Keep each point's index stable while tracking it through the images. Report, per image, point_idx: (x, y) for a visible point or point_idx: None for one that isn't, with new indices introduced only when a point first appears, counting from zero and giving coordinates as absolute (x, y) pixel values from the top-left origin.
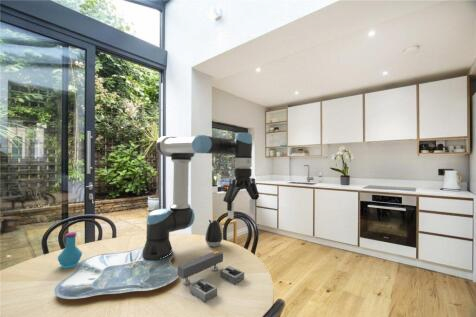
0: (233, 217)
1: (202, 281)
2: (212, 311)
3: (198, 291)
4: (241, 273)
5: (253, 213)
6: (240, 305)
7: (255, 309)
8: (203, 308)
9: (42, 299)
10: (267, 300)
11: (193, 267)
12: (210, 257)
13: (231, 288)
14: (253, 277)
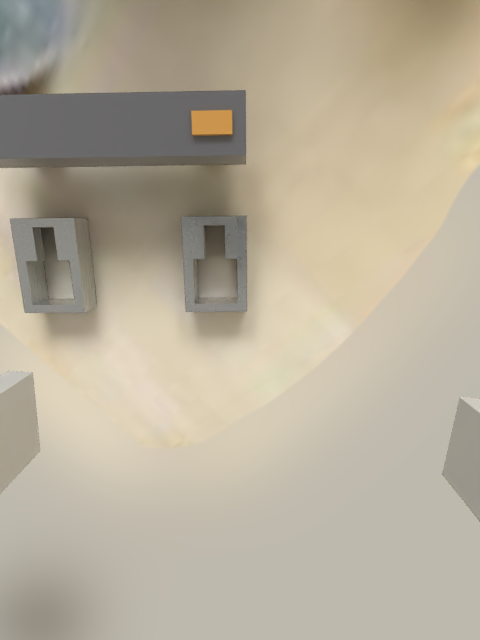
0: (26, 462)
1: (63, 235)
2: (39, 352)
3: (21, 274)
4: (231, 308)
5: (448, 473)
6: (123, 392)
7: (144, 433)
8: (24, 323)
9: None
10: (204, 435)
11: (30, 160)
12: (149, 148)
13: (166, 311)
14: (286, 321)
